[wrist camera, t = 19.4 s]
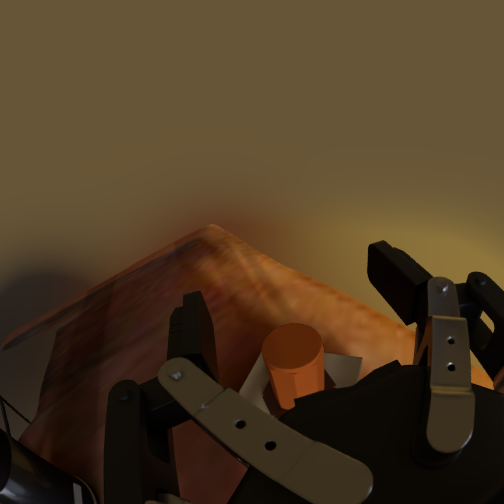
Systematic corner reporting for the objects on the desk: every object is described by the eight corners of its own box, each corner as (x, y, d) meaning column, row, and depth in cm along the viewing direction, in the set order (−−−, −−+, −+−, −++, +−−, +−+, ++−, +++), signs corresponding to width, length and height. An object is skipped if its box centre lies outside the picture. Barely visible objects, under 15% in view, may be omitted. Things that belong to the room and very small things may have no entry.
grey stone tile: (226, 430, 27) (220, 422, 26) (269, 353, 37) (266, 342, 35) (333, 460, 21) (334, 455, 20) (360, 368, 31) (362, 357, 29)
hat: (253, 412, 26) (232, 369, 22) (280, 359, 32) (268, 308, 28) (322, 429, 23) (322, 390, 18) (342, 371, 29) (344, 319, 24)
